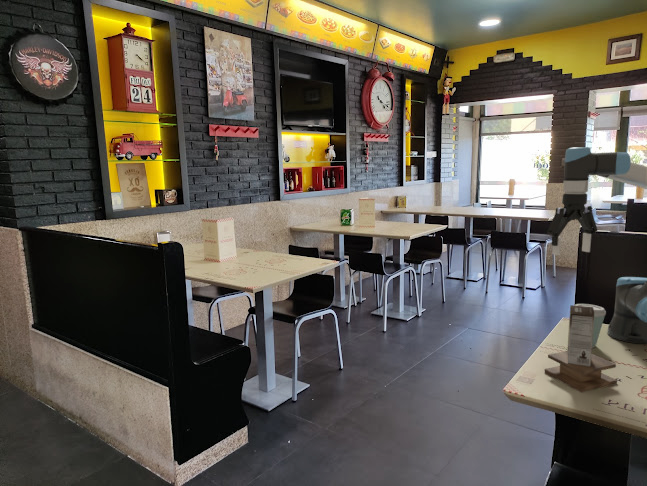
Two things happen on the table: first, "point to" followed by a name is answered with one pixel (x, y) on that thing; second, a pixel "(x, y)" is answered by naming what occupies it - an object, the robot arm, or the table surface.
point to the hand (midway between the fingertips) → (571, 253)
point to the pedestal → (581, 372)
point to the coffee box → (580, 335)
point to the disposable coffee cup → (596, 321)
